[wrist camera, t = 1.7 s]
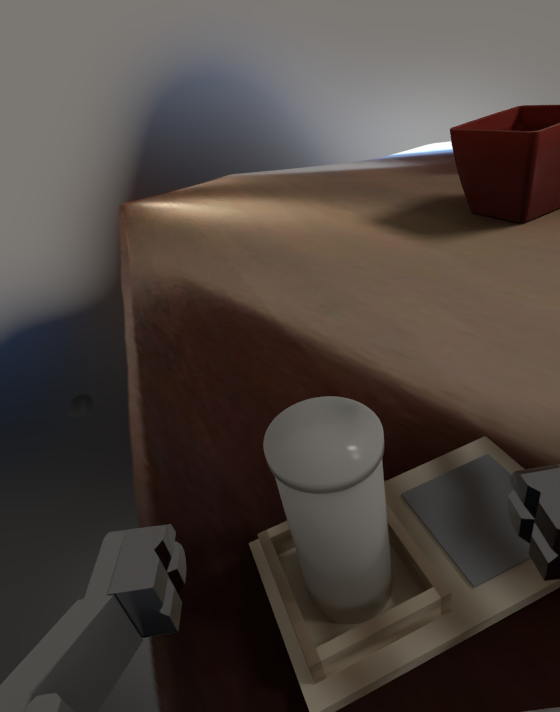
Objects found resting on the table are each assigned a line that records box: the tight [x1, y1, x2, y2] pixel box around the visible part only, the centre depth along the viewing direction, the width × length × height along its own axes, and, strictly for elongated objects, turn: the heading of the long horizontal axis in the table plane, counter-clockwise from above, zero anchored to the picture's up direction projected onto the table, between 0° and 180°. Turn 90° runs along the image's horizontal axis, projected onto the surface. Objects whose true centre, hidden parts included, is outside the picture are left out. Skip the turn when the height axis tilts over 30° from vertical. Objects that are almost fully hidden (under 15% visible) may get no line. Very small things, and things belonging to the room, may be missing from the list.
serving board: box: [249, 436, 560, 712], centre depth 35 cm, size 24×13×4 cm, turn 111°
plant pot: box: [450, 105, 560, 223], centre depth 86 cm, size 19×19×17 cm
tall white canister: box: [263, 396, 393, 624], centre depth 31 cm, size 10×7×15 cm
